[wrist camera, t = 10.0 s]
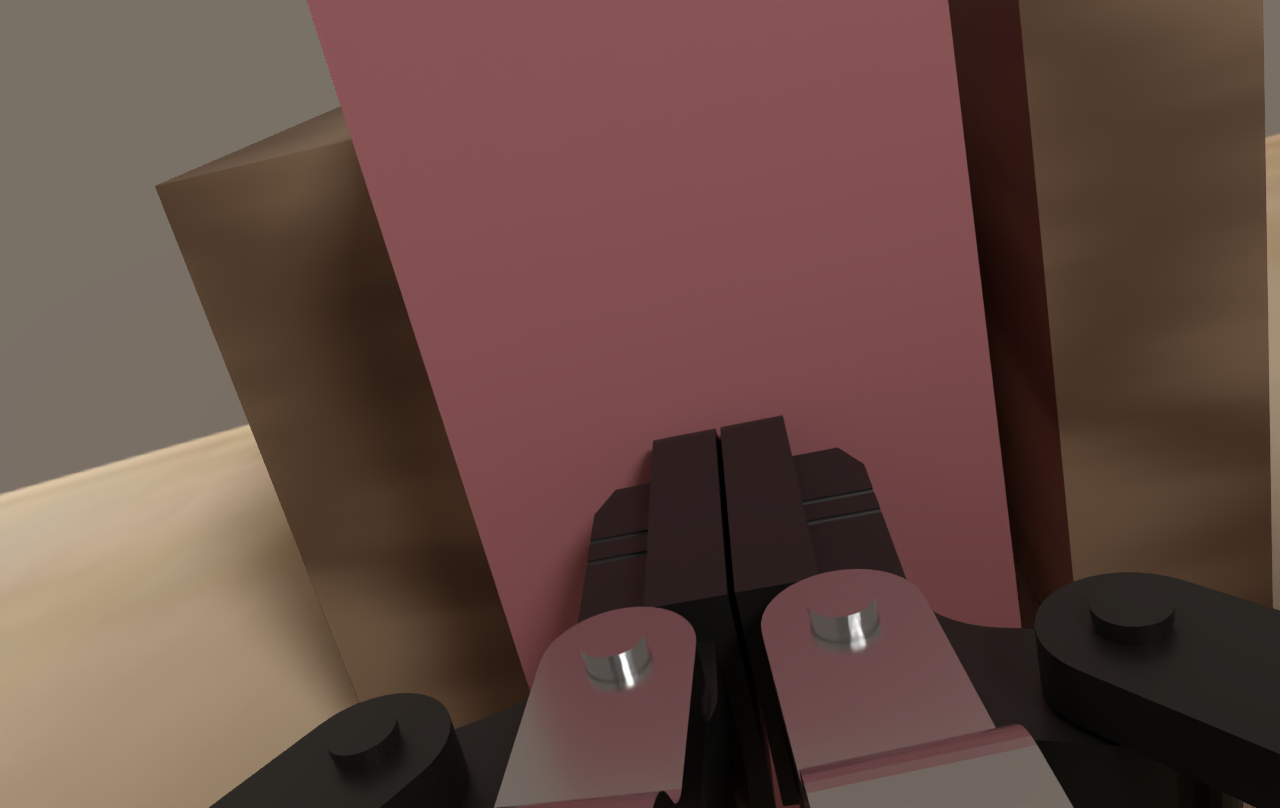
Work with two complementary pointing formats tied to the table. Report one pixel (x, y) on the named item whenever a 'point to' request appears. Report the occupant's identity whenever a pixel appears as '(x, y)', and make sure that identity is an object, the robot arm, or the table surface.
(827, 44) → the pink rectangular block
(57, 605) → the table surface
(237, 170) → the shelf slot
